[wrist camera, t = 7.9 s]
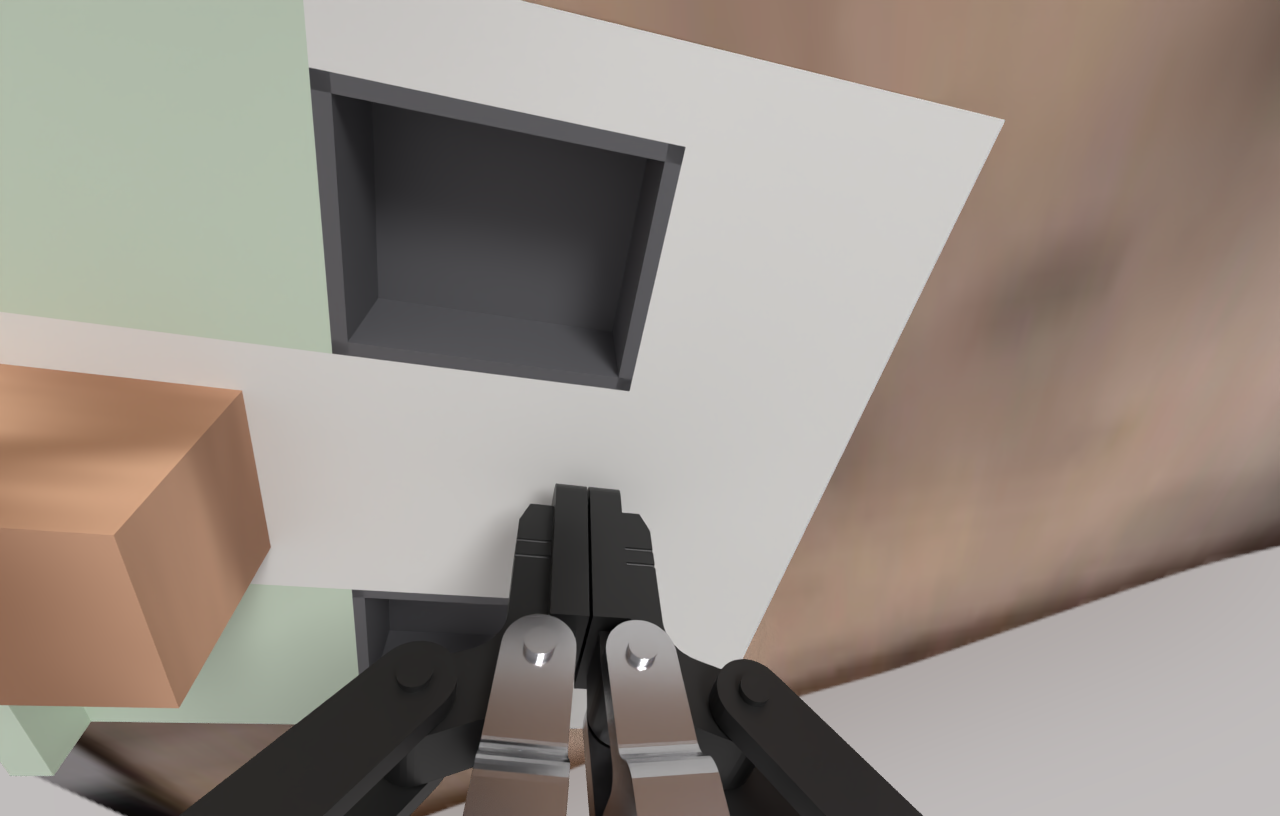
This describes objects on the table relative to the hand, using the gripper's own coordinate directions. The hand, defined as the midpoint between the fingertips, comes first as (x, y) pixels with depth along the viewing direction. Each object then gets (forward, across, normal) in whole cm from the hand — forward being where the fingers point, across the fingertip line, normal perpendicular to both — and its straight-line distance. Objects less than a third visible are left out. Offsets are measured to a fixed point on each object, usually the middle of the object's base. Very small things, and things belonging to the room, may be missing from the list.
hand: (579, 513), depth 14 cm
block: (0, +10, 0) cm, 10 cm away
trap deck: (+3, +4, 0) cm, 5 cm away
